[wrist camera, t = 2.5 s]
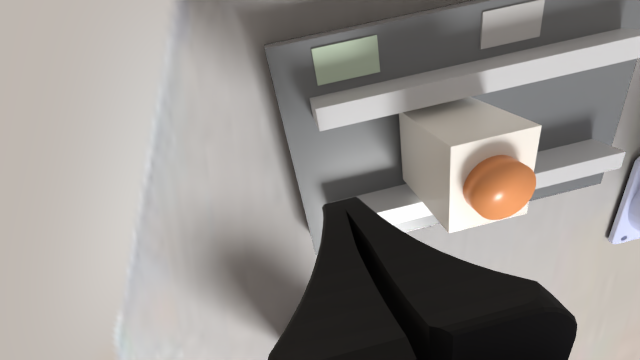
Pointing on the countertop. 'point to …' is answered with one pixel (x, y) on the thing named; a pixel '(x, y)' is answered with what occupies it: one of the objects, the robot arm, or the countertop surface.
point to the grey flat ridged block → (453, 94)
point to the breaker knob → (469, 161)
